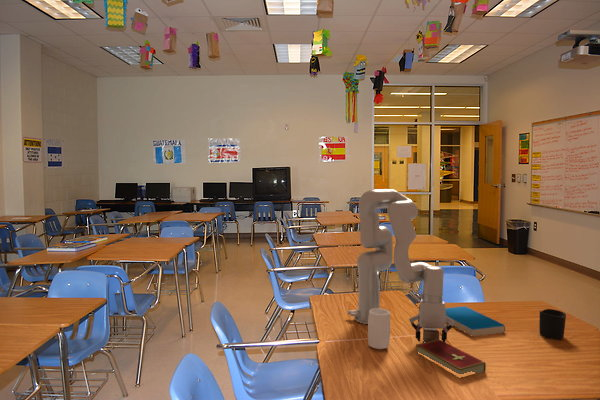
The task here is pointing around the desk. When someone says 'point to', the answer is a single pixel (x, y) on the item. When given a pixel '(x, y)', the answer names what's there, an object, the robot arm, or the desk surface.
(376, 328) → the cup
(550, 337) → the pen holder
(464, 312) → the book
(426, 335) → the walnut block
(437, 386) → the desk surface
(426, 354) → the hardcover book
